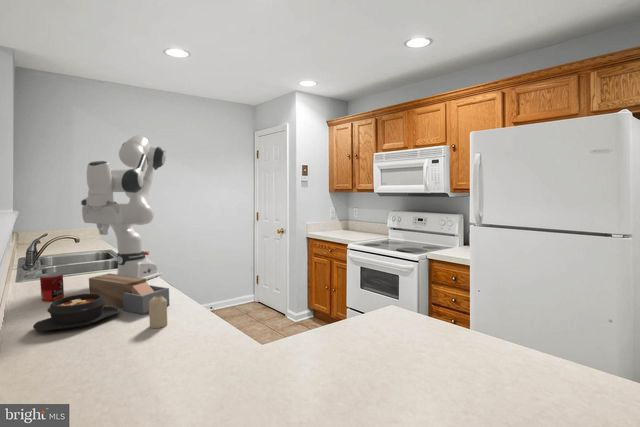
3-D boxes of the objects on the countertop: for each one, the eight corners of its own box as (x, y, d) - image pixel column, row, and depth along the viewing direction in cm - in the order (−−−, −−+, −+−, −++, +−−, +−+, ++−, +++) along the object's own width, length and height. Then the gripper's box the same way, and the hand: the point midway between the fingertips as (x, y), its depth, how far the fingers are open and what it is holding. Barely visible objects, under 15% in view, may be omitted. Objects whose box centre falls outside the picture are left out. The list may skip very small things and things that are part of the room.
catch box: (150, 301, 151) (149, 285, 151) (169, 305, 147) (168, 288, 146) (123, 310, 141) (122, 292, 140) (143, 314, 136) (142, 296, 135)
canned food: (55, 302, 152) (54, 276, 151) (36, 302, 152) (34, 276, 151) (68, 296, 160) (67, 271, 159) (50, 296, 160) (49, 271, 159)
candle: (146, 326, 124) (145, 297, 123) (160, 321, 129) (158, 293, 128) (157, 329, 121) (156, 300, 121) (171, 324, 126) (169, 295, 126)
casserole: (41, 341, 113) (39, 314, 112) (27, 326, 125) (26, 302, 125) (126, 319, 132) (125, 296, 131) (107, 308, 144) (106, 287, 143)
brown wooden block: (110, 296, 160) (109, 273, 159) (147, 302, 150) (146, 278, 149) (90, 301, 152) (88, 278, 151) (127, 309, 142) (125, 284, 141)
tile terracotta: (143, 286, 148) (146, 282, 147) (152, 296, 146) (155, 292, 145) (130, 290, 142) (132, 285, 142) (139, 300, 140) (141, 296, 140)
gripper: (125, 201, 148) (127, 234, 150) (93, 200, 157) (95, 232, 159) (110, 202, 143) (113, 237, 144) (78, 201, 152) (80, 234, 153)
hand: (103, 234), depth 151 cm, fingers closed
